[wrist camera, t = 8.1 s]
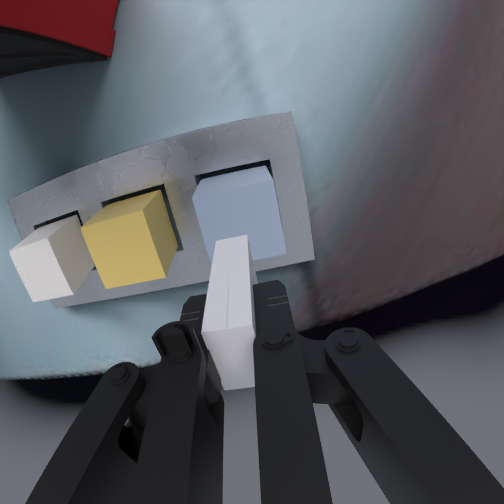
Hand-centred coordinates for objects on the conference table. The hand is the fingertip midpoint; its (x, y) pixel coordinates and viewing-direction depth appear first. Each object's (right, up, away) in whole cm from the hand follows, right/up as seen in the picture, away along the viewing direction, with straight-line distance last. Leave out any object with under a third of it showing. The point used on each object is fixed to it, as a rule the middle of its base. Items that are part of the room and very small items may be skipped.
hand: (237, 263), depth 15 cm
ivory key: (-16, +1, +9) cm, 18 cm away
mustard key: (-8, +3, +8) cm, 12 cm away
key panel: (-8, +3, +10) cm, 13 cm away
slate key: (0, +4, +8) cm, 9 cm away
